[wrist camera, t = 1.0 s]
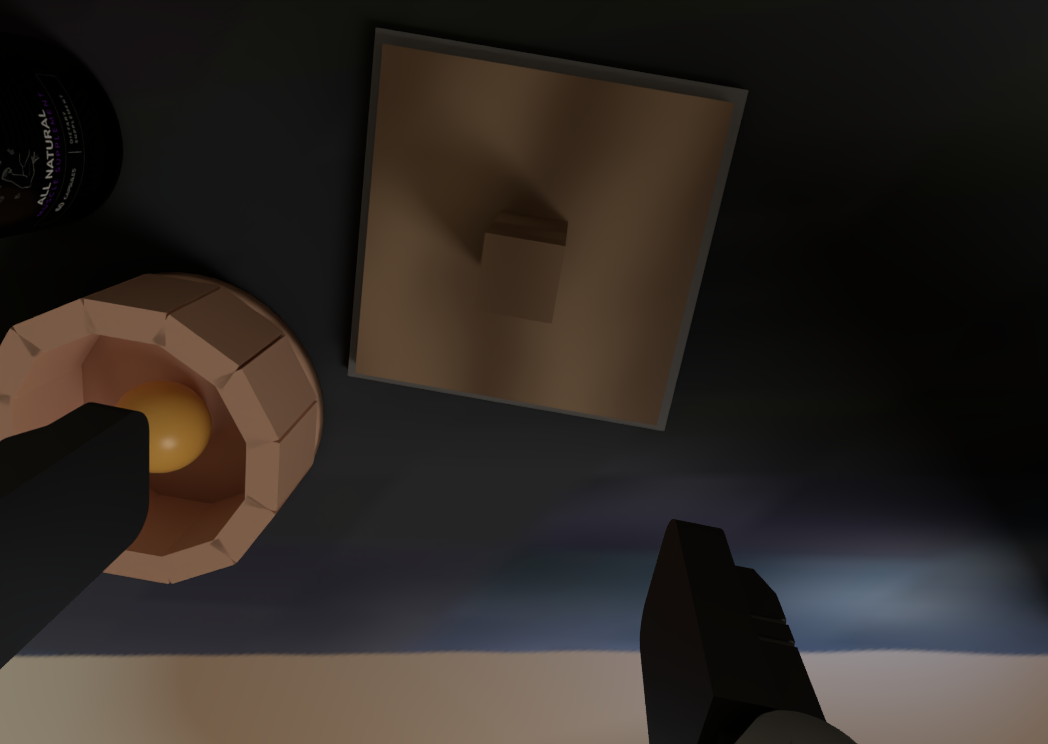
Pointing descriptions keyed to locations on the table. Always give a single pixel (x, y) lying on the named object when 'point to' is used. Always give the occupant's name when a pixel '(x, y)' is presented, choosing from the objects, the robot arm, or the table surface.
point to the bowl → (207, 368)
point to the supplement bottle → (52, 138)
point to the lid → (533, 232)
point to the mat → (569, 69)
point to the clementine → (171, 422)
